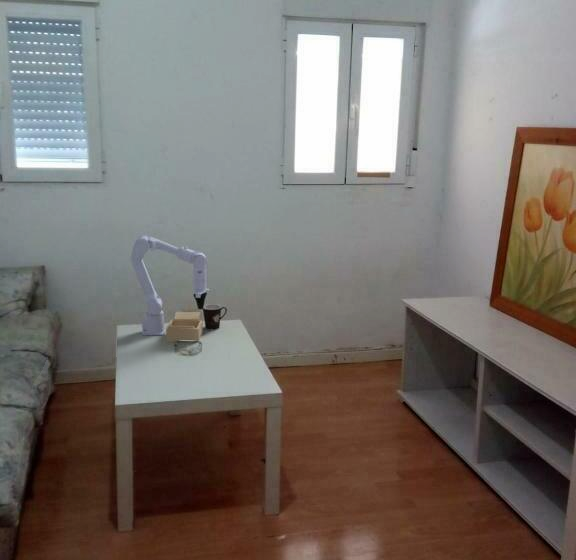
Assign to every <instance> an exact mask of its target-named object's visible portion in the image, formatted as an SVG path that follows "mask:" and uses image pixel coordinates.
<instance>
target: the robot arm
mask: <svg viewBox="0 0 576 560" xmlns="http://www.w3.org/2000/svg"><path fill="white" fill-rule="evenodd" d="M150 250H151V252H152V251H156V250H160V251H162V252H165V253H166V252H167V253H169V254H172V255H174V256H176V259H178V260H181V261H183V262H186V263H188V264H193V272H192V274H193V275H192V276H193V292H194V293H193V298H194V300H195V302H196V305H197V309H198V310H203V307H204V306H205V301H206V298H207V295H208V292H210V288H207V287H208V285H207V267H206V264H207V257H206V255H205V254H204V253H203V252H202V251H198V250H193V249H189V248H188V246H186V245H184V246H179V247H177V246H174V245H172V244H170V243H168V242H165V241H163V240H161V239H158V238H155V237H152V236H148V235H146V234H144V235H143V234H142V235H139V237H138V238H137V239H136V241H135V242H134V245H133V247H132V251H131V255H130V261H131V264H132V266H133V267H132V268H133V269H134V271H135V274H136V277H137V279H138V281H139V284H140V287H141V289H142V292H143V294H144V296H145V297H144V298H145V302H146V305H147V308H146V310H147V313H143V314H142V316H141V327H142V335H145V336H163V335H164V334H166V328H167V327H165V315H164V311H163V310H162V307H163V304H164V303H163V300H162V298H161V297H160V296H159V295H158V293H157V291H156V290H155V287H154V285H153V283H152V280H151V277H150V275H149V272H148V269H147V267H146V266H145V262H144V260H143V259H144V256H145V255H146V254H147V253H148V252H149V251H150Z"/></svg>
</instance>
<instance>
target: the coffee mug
mask: <svg viewBox="0 0 576 560" xmlns="http://www.w3.org/2000/svg"><path fill="white" fill-rule="evenodd" d="M223 309H224V310H225V311H224V313H223V315H221V313H222V310H223ZM202 311H203V312H202V313H203V320H204V325H205V329H206V328H207V329H206V330H208V329H213V330H212V331H214V329H216V330H219V329H220V326H221V320H222V319H223V318H224V317H225V315H226V314H227V312H228V309H227V307H224V306H221V305H220V304H217V303H213V304H210V303H209V304H204V307H203V309H202ZM218 328H219V329H218Z"/></svg>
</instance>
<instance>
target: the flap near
mask: <svg viewBox="0 0 576 560" xmlns="http://www.w3.org/2000/svg"><path fill="white" fill-rule="evenodd" d="M167 327H169V328H195V327H194V326H168V325H167V326H166V328H167Z"/></svg>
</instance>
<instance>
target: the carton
mask: <svg viewBox="0 0 576 560" xmlns="http://www.w3.org/2000/svg"><path fill="white" fill-rule="evenodd" d="M167 326H194V327H195V328H169V327H167ZM167 326H166V327H165V328H166V331H165V336H166V338H165V339H166V343H167V342H169V343H170V342H171V343H172V342H173V343H175V341H180V340H196V341H199V342H200V339H201V338H202V336H201V335H203V331H204V330H203V320H202V319H201V320H200V319H199V320H174V319H170V321H169V323H168V325H167Z"/></svg>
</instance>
